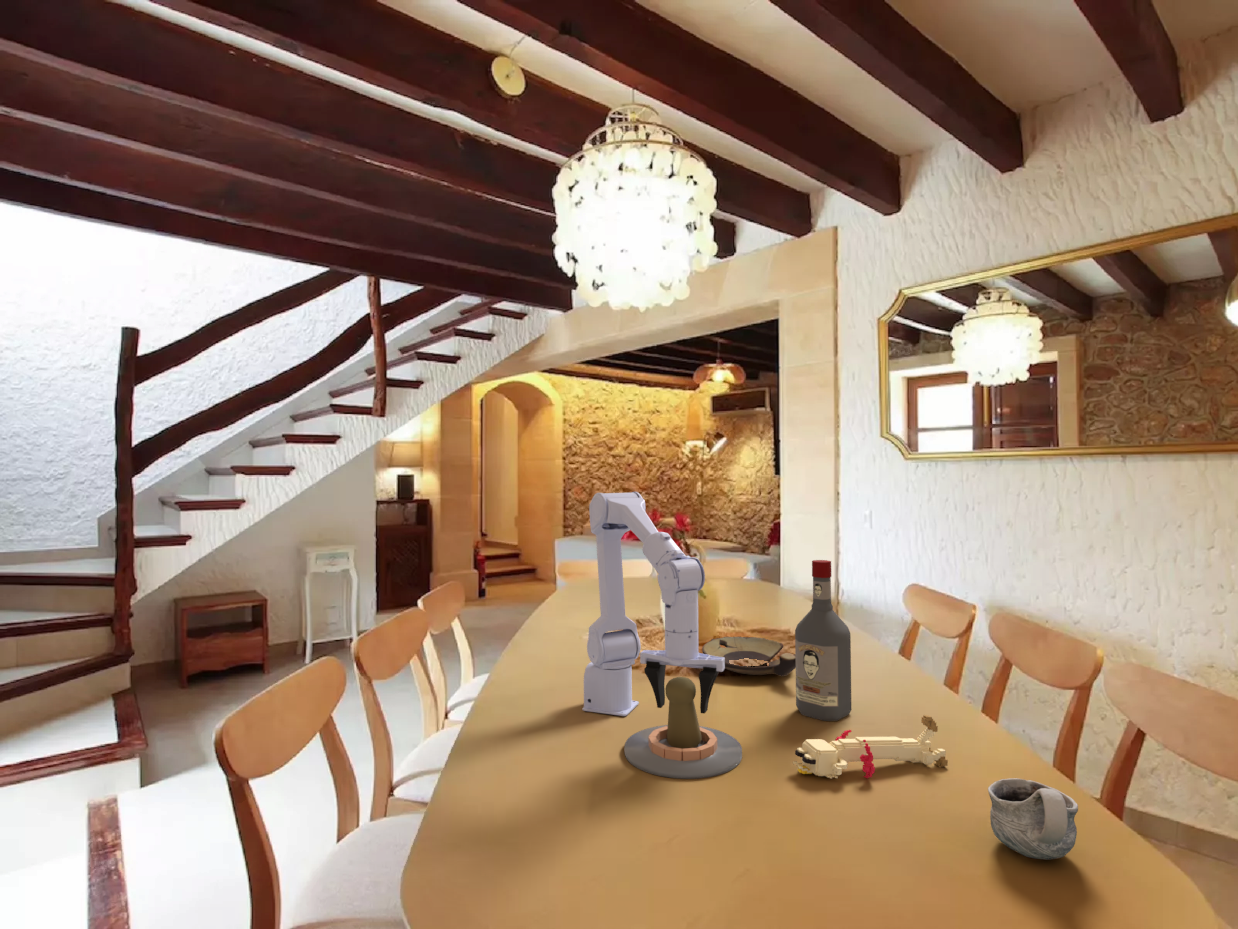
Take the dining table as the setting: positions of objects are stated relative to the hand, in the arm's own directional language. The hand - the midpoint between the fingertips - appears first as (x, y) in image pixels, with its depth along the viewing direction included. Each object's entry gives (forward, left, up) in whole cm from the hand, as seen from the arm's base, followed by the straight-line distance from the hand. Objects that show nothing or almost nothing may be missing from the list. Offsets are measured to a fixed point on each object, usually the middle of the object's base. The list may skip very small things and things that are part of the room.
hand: (682, 708), depth 115 cm
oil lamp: (+3, +50, -8) cm, 51 cm away
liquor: (+21, +28, -8) cm, 36 cm away
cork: (0, +2, -6) cm, 6 cm away
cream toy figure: (+30, +4, -8) cm, 31 cm away
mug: (+50, -15, -8) cm, 53 cm away
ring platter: (0, 0, -7) cm, 7 cm away
